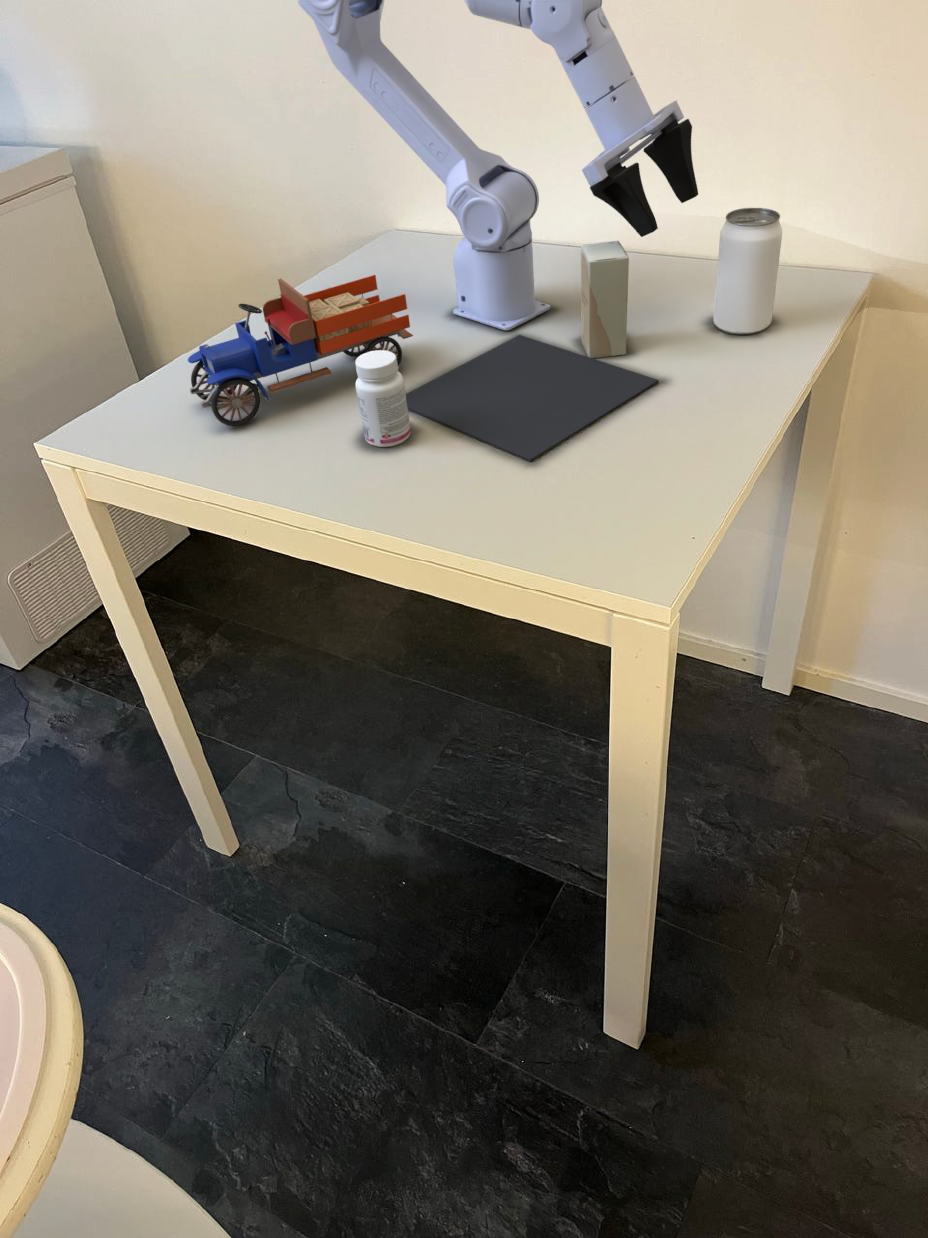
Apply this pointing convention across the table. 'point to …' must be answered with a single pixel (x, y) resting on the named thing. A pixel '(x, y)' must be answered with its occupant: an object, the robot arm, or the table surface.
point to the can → (747, 270)
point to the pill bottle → (382, 399)
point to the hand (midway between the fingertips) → (670, 215)
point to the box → (604, 298)
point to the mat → (526, 396)
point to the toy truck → (296, 342)
